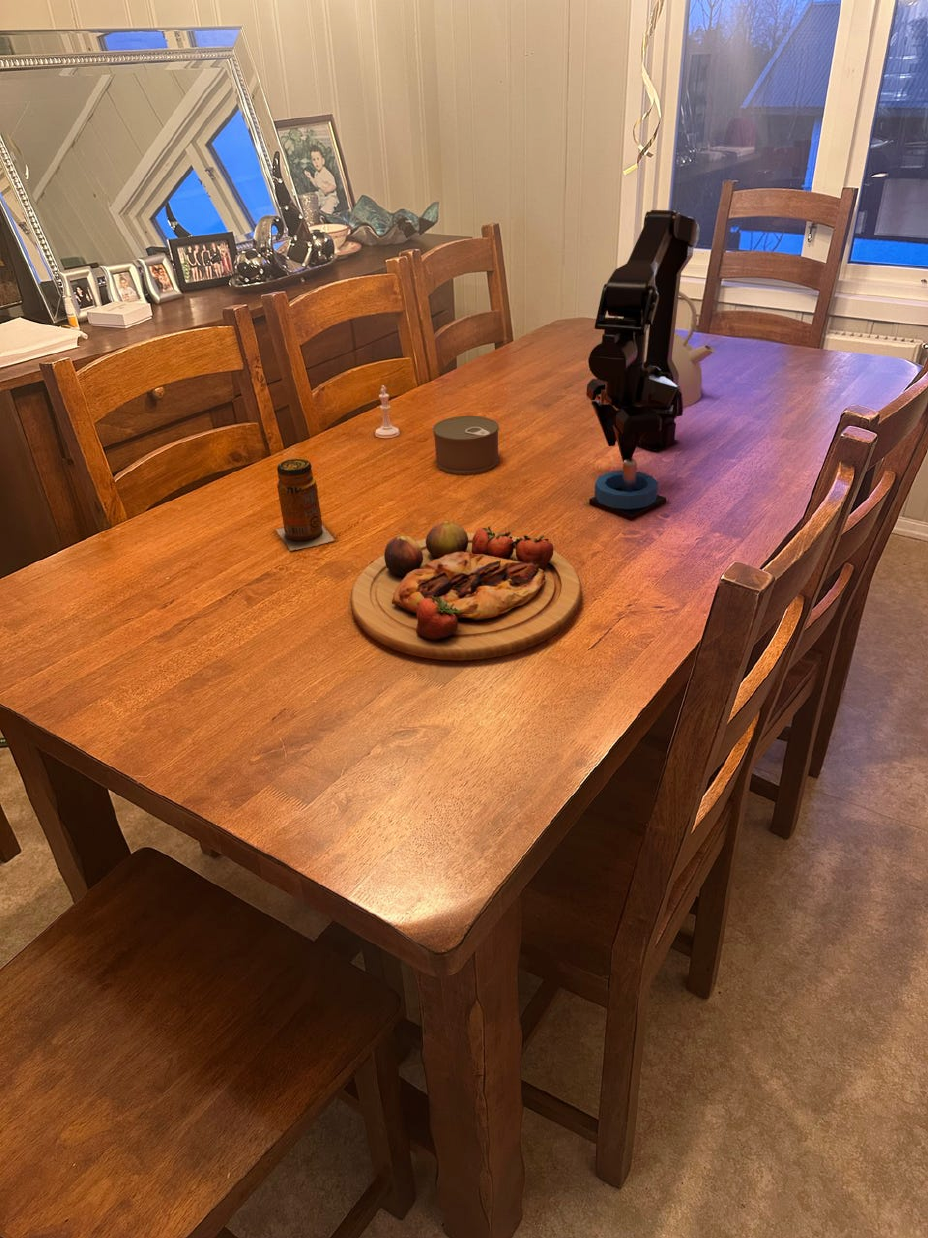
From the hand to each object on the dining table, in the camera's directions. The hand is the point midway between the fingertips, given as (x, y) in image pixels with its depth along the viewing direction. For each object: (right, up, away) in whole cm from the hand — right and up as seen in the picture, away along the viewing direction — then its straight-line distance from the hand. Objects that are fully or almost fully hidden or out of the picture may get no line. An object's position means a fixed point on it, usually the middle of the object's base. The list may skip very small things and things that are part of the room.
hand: (618, 453), depth 145 cm
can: (-25, +2, +17) cm, 31 cm away
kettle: (+15, +22, +45) cm, 52 cm away
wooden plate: (-26, -25, -24) cm, 43 cm away
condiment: (-51, -14, -5) cm, 54 cm away
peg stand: (+1, -8, 0) cm, 8 cm away
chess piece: (-41, +10, +32) cm, 53 cm away
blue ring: (+1, -7, 0) cm, 7 cm away
